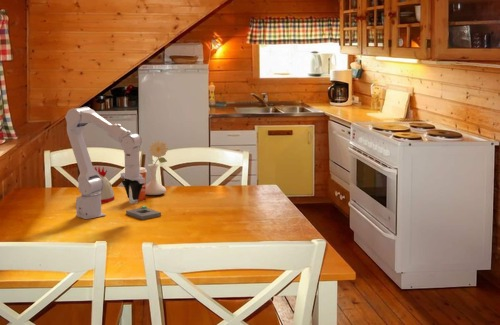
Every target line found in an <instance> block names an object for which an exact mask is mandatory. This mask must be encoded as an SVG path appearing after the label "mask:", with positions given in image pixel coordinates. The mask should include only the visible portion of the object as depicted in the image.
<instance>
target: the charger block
mask: <svg viewBox="0 0 500 325" xmlns="http://www.w3.org/2000/svg"><path fill="white" fill-rule="evenodd" d="M125 215H128V216H130V217H133V218H136V219H139V220H141V221H144V220H149V219H154V218H158V217H161V216H162V212H161V211H157V210H155V209H153V208H148V206H146V205H142V206H141V207H138V208H134V209H133V208H132V209H128V210H127V209H126V210H125Z"/></svg>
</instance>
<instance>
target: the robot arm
mask: <svg viewBox="0 0 500 325" xmlns="http://www.w3.org/2000/svg"><path fill="white" fill-rule="evenodd" d="M64 118H65V121H66V132H67V133H66V134H67V136H68V139H69V142H70V146H71V148H72V152H73V154H74V159H75V161H76V164H77V167H78V170H79V175H78V177H77V183H78V186H77V187H78V191H79V192H80V194H81V196H76V200H75V205H76V206H75V207H76V214H75V216H76V217H78V218H81V219H83V220H89V219H94V218H99V217H104V216H106V215H107V214H106V213H103V212H102V203H101V190H102V189H103V187H104V182H103V180H102V178H101V177H100V175H99V173H98V172H97V171H98V170H97V171H96V170H95V168H94V165H93V162H92V160H91V157H90V153H89V150H88V147H87V145H86V142H85V141H86V140H85V139H84V134H83V131H84V128H85V127H86V126H87V125H88V124H93V125H95V126H96V127H98V128H99V129H102V130H103V131H105V132H107V136H108V137H110V138H111V139H113V140H114V141H116V142H117V143H119V144H120V146H121V147H122V148H123V153H124V172H120V179H124V180H121V184H122V185H123V186H124V189H125V192H126V195H127V198H128V199H129V185H130V187H131V190H132V197H133V200H137V199H139V194H140V191H141V188H142V186H143V184H144V183H145V178H143V177H142V175H141V174H140V167H141V164H140V146H141V145H142V143H143V141H142V140H143V139H142V137H141V136H140V134H138V133H137V132H133V133H132V131H131V130H127V129H126V128H125V127H123V126H122V124H120V123H114V124H112V123H111V122H109V121H108V120H107V119H105V118H104V117H102V116H101V115H99V114H98V113H97V112H96V111H95V110H94V109H92V108H90V107H88V106H83V107H77V108H70V109H69V110H67V112H66V114H65V116H64Z"/></svg>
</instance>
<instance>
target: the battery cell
mask: <svg viewBox="0 0 500 325" xmlns="http://www.w3.org/2000/svg"><path fill="white" fill-rule="evenodd" d="M128 201H129V202H128V203H129V204H131V205H132V204H138V201H137V200H133V197H132V190H131V187H130V185H129V198H128Z"/></svg>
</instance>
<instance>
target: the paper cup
mask: <svg viewBox="0 0 500 325" xmlns="http://www.w3.org/2000/svg"><path fill="white" fill-rule="evenodd" d="M147 172H148V171H147V169H146V167H144V166H143V167H142V166H140V174H141V175H142V177H143V178H145V183H144V184H143V186H142V188H141V191H140V194H139V199H137V202H138V201H139V202H140V201H144V200H146V194H145V189H146V185H147V182H146V180H147Z"/></svg>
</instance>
